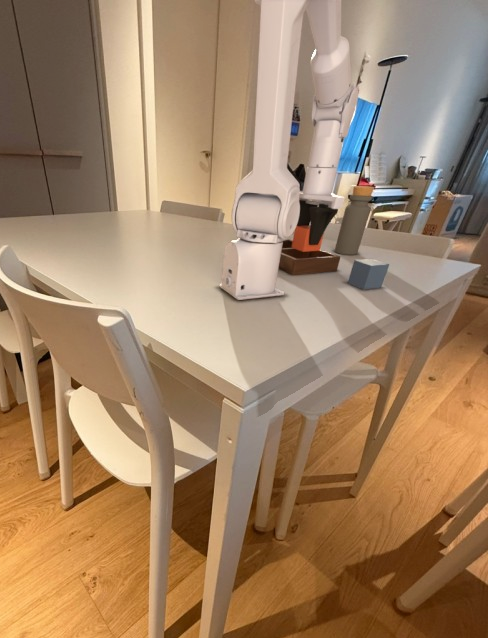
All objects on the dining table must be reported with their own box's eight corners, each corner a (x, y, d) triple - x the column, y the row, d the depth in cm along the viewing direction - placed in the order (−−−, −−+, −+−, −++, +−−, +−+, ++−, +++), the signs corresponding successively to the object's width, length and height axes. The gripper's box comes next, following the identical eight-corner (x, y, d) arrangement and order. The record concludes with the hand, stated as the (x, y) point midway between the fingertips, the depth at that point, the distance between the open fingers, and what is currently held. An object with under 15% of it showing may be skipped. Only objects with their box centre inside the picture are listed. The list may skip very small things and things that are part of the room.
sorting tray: (336, 271, 75) (340, 256, 73) (292, 275, 71) (295, 259, 70) (287, 251, 90) (289, 239, 88) (249, 254, 86) (250, 241, 85)
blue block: (363, 289, 64) (371, 265, 62) (347, 283, 68) (354, 260, 65) (381, 287, 65) (389, 264, 63) (364, 281, 69) (371, 258, 66)
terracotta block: (302, 251, 72) (307, 229, 70) (291, 247, 76) (295, 225, 73) (319, 250, 74) (324, 228, 71) (307, 246, 77) (312, 225, 74)
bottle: (353, 250, 92) (372, 186, 84) (360, 255, 88) (380, 187, 79) (331, 249, 93) (348, 185, 84) (337, 254, 88) (355, 187, 79)
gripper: (365, 169, 62) (343, 248, 70) (315, 166, 73) (302, 235, 81) (334, 168, 60) (315, 250, 68) (288, 166, 71) (276, 236, 79)
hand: (306, 242), depth 74 cm, fingers closed on terracotta block, 4 cm apart
